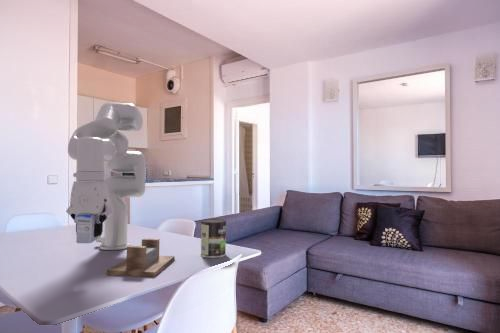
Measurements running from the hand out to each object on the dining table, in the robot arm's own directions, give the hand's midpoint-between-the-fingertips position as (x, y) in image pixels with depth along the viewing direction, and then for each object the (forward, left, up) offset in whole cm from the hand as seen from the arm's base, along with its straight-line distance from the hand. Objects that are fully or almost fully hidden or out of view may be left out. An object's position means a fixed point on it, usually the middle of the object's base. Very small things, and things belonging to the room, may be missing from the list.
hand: (89, 234), depth 101 cm
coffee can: (+32, +35, -14) cm, 50 cm away
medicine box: (0, 0, -2) cm, 2 cm away
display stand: (+11, +15, -14) cm, 24 cm away
